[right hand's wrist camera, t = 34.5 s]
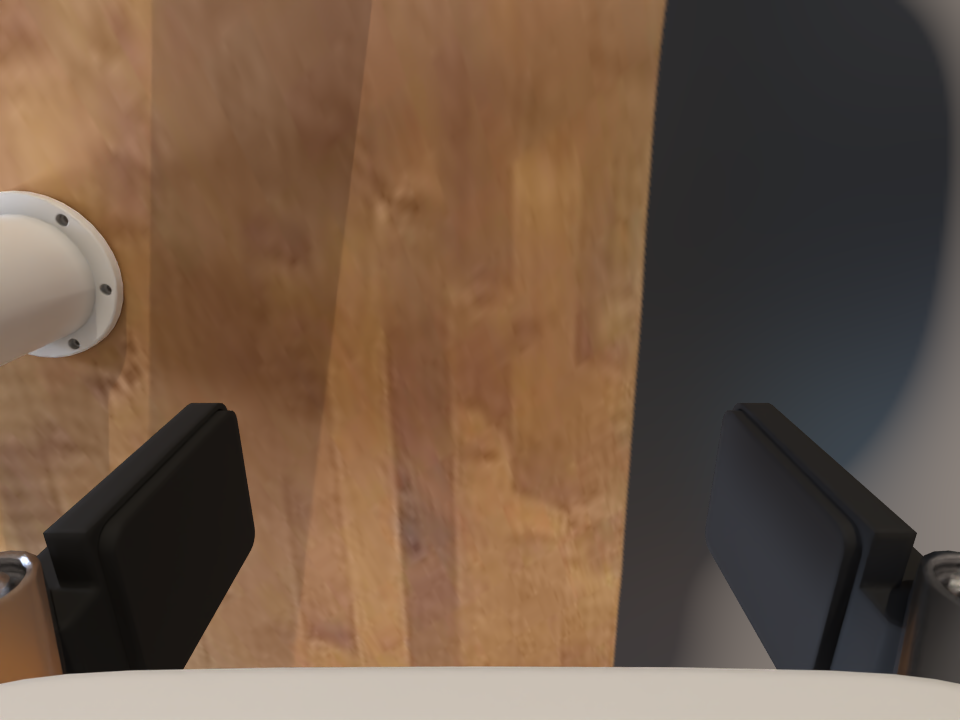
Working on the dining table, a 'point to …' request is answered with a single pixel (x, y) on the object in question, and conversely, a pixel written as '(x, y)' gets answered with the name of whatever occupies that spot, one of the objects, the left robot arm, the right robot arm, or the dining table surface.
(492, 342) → the dining table surface
